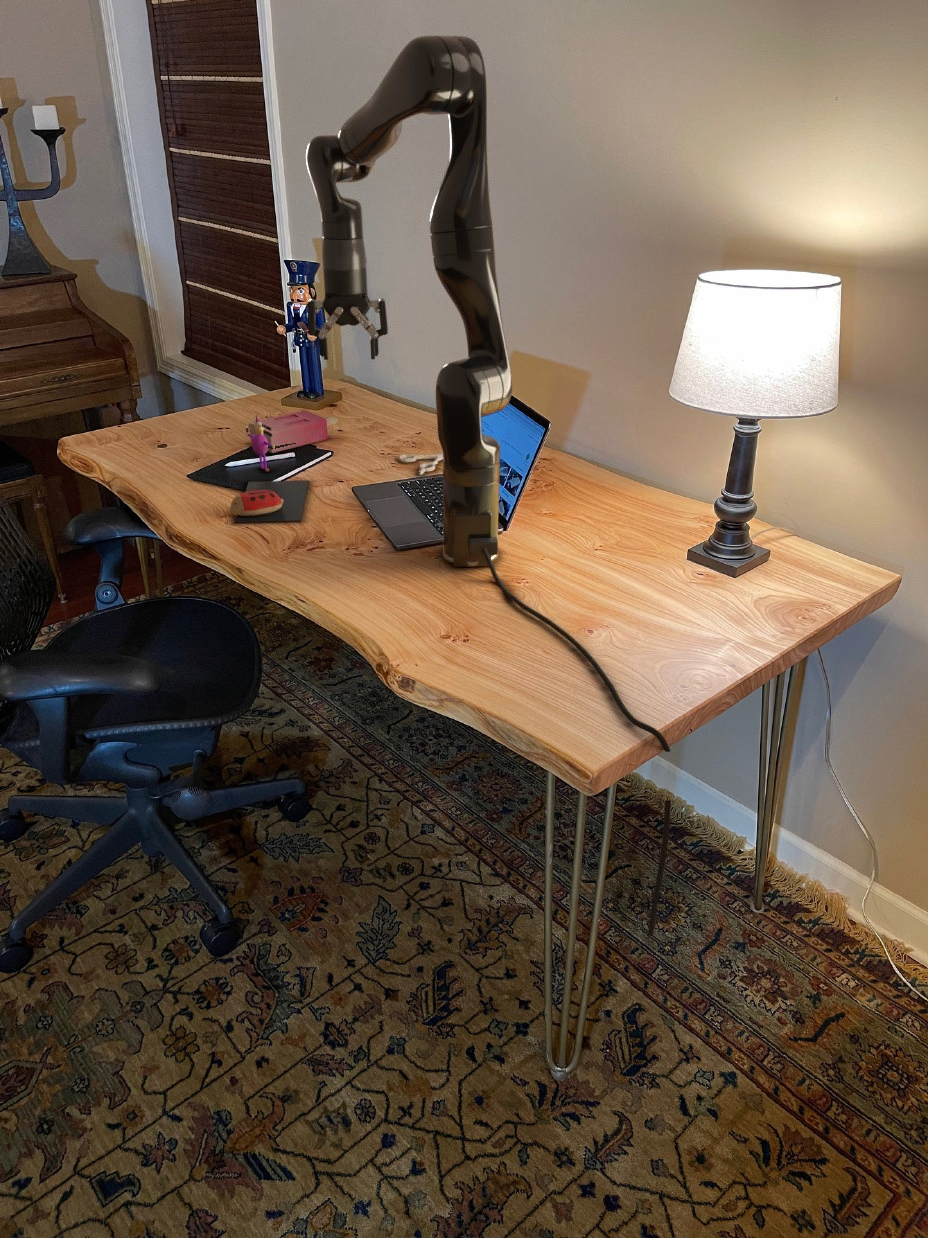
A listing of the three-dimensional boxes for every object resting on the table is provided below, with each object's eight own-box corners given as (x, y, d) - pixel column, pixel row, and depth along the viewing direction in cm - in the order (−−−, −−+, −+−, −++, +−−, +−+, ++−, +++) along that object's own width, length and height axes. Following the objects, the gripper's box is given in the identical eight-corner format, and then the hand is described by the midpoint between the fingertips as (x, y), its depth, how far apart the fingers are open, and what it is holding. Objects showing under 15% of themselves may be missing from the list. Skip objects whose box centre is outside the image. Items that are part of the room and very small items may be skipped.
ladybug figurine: (227, 508, 170) (225, 490, 168) (279, 500, 174) (277, 483, 172) (234, 521, 165) (232, 503, 163) (287, 513, 168) (286, 495, 166)
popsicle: (346, 414, 206) (269, 432, 195) (347, 434, 209) (272, 453, 197) (323, 405, 212) (248, 422, 201) (325, 425, 215) (250, 443, 203)
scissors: (391, 457, 193) (464, 438, 204) (391, 461, 193) (464, 442, 204) (420, 472, 186) (494, 451, 196) (420, 475, 186) (494, 454, 197)
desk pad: (300, 521, 166) (300, 520, 165) (234, 523, 165) (234, 521, 165) (308, 481, 183) (308, 480, 183) (248, 483, 182) (248, 481, 182)
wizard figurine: (283, 476, 185) (277, 419, 179) (269, 480, 184) (263, 422, 178) (256, 461, 193) (249, 406, 187) (242, 465, 191) (235, 409, 185)
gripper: (301, 268, 153) (309, 364, 162) (385, 268, 154) (388, 363, 163) (305, 261, 160) (312, 354, 168) (385, 261, 161) (388, 353, 169)
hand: (349, 358), depth 165 cm, fingers open, 8 cm apart
